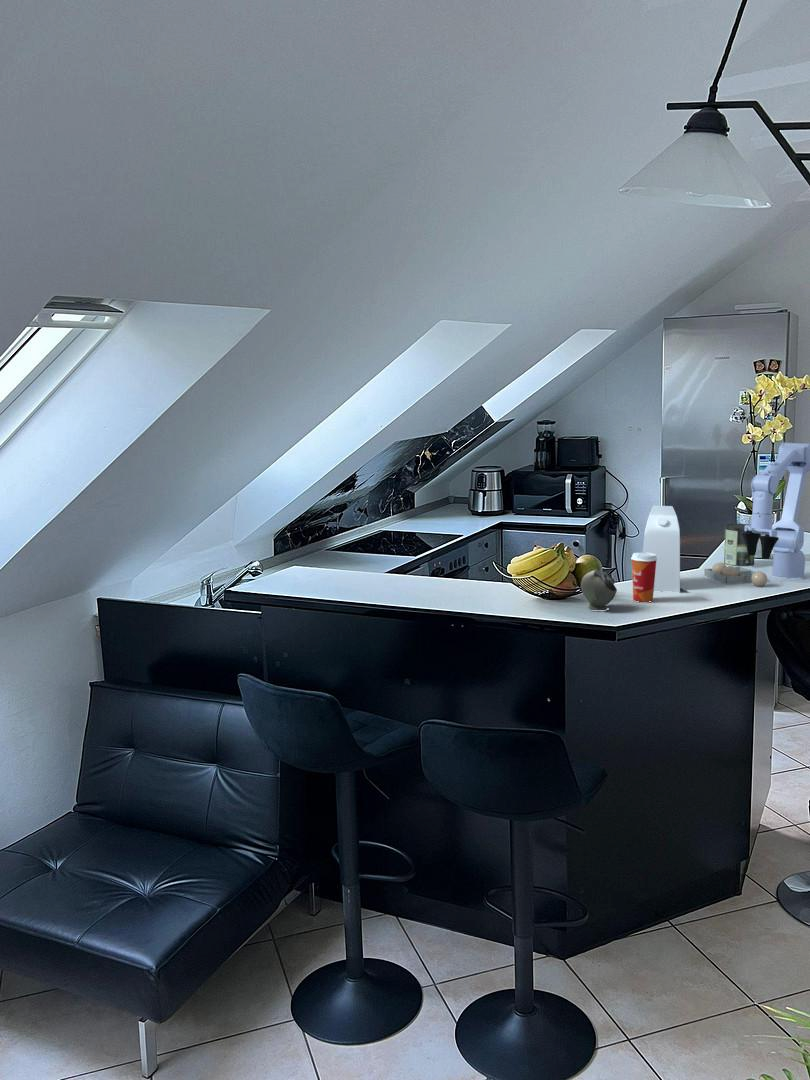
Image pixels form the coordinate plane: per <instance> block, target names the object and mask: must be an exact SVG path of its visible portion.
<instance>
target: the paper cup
mask: <svg viewBox="0 0 810 1080" xmlns="http://www.w3.org/2000/svg"><path fill="white" fill-rule="evenodd" d="M630 559H631V569H632V570H631V571H632V572H631V573H632V575H631V576H632V578H631V579H632V598H633V601H634V600H635V601H639V602H638V603H640V602H649V601H652V602H653V600H654V593H655V592H654V582H655V571H656V560H658V559H657V557H656V554H653V553H643V552H633V553H632V556H631V558H630ZM635 601H634V602H635ZM649 603H650V602H649Z"/></svg>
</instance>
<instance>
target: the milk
mask: <svg viewBox="0 0 810 1080" xmlns="http://www.w3.org/2000/svg"><path fill="white" fill-rule="evenodd" d="M648 514H649V515H648V516H647V522H646V525H645V529H644V533H643V547H642V553H653V554H656V557H657V559H658V560H656V571H655V582H654V591H672V592H680V593H681V535H680V534H681V529H680V523H679V520H678V515H677V513H676V511H675V509H674V507H673V505H653V506H652V507H651V510H650V512H649V513H648Z"/></svg>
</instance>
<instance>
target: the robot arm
mask: <svg viewBox="0 0 810 1080" xmlns="http://www.w3.org/2000/svg"><path fill="white" fill-rule="evenodd" d="M786 470H787V471H788V472H789V477H788V483H787V487H786V492H785V496H784V497H785V498H784V503H783V507H782V513H781V519H779V520H778V521H777V522H774V523H773V524H772V518H773V517H772V516H773V506H774V505H773V502H774V494H776V492H777V490H778V486H779V484H780V481H781V480H782V479H783V478H784V475H786ZM808 472H810V443H800V442H799V443H797V442H782V443H781V444H780V445H779V447H778V457H777V458H776V459H775V461H771V462H769V464H768V465H767V466H766V467H765V468H764V469H763V471H762V472H761V473H760V474H756V475H754V476H753V477H752V479H751V483H750V489H751V498H752V501H753V502H752V512H751V513H752V514H751V522H750V523H751V524H749V525H745V530H744V531H747V532H746V533H742V535H743V537H744V540H745V542H746V546H747V552H748V555H753V556H756V553H757V547H758V543H759V542H760V545H761V559H762V560H769V559H771V555H773V556H772V569H771V570H772V572H771V573H772V576H774V577H777V578H786V579H802V578H804V579H806V578H807V577H806V576H805V566H806V556H805V554H804V552H803V551H802V548H803V547H804V542H805V539H804V538H805V537H804V536H805V529H804V527H803V526H801V524H800V523H798V517H799V512H800V506H801V501H802V499H803V493H804V492H803V491H804V486H805V482H806V478H807V477H806V476H807V473H808ZM772 552H773V553H772Z"/></svg>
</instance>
